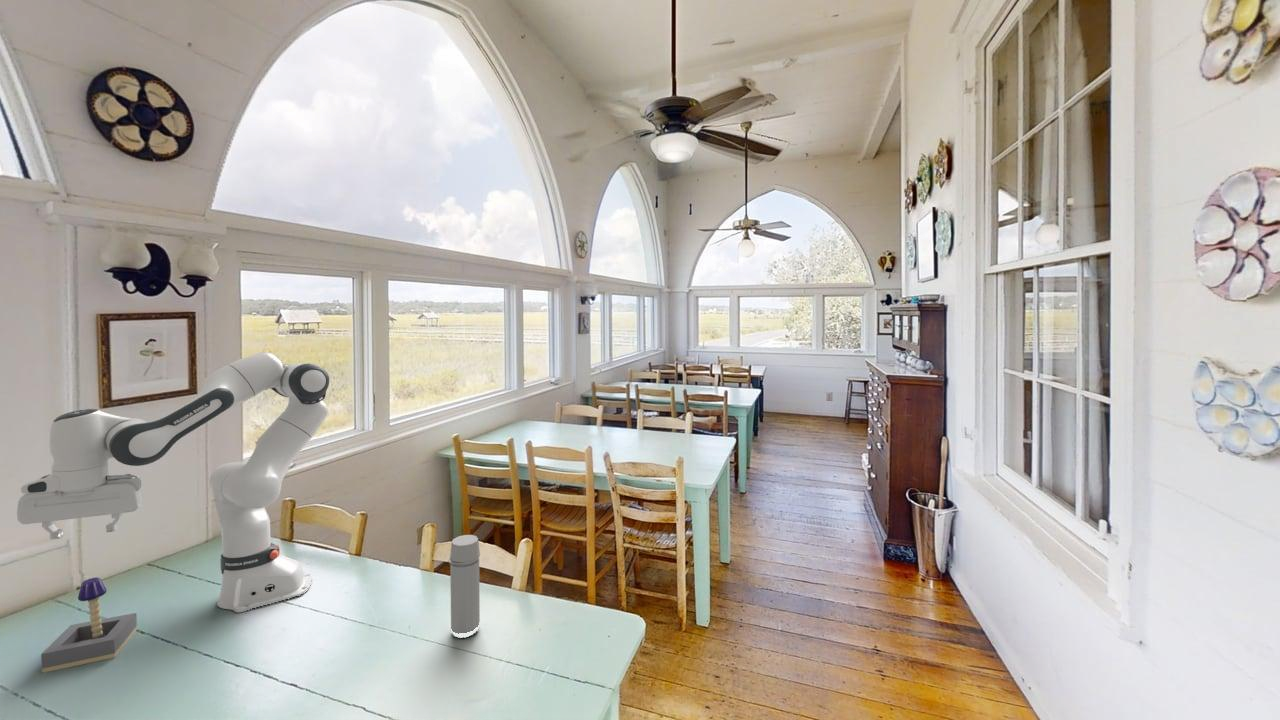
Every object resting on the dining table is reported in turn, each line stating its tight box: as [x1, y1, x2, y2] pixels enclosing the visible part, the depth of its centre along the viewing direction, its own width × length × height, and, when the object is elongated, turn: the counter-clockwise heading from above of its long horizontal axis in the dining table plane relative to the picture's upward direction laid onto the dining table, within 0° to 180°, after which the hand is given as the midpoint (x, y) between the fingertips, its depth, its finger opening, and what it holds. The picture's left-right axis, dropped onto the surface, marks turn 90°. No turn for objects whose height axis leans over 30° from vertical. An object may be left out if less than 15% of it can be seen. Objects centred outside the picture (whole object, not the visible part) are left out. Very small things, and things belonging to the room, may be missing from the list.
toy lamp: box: [77, 577, 107, 640], centre depth 120 cm, size 5×5×17 cm
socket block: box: [40, 612, 138, 673], centre depth 120 cm, size 12×12×4 cm
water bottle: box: [447, 534, 481, 634], centre depth 130 cm, size 9×8×25 cm
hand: (85, 534), depth 118 cm, fingers open, 8 cm apart
